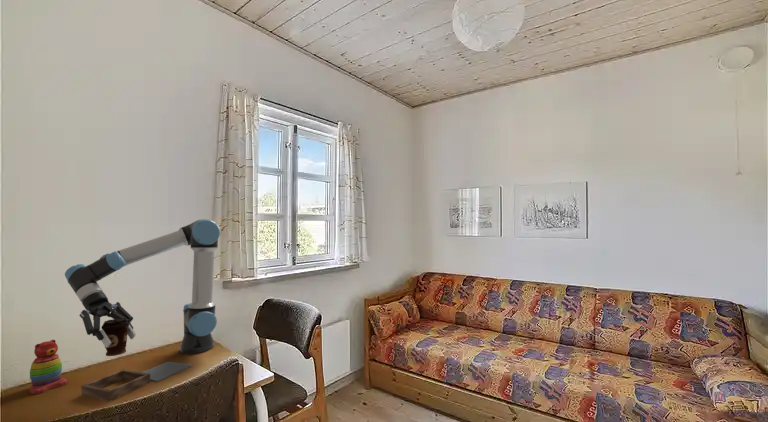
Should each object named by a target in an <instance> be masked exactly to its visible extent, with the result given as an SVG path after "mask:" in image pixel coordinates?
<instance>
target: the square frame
mask: <svg viewBox="0 0 768 422" xmlns="http://www.w3.org/2000/svg"><path fill="white" fill-rule="evenodd" d="M142 372H143V371H142ZM142 372H140V371H135V370H129V369H122V370H121V369H120V370H119V371H116V372H114V373H111V374H109V375H106V376H103V377H101V378H98V379H96V380H93V381H91V382H88V383H86V384H84V385H81V386H80V387H81V388H80V389H81V391H80V392H81V393H80V394H81V396H82V397H85V398H91V399H95V400H100V401H104V402H105V401H106V402H111V400H112V401H115V400H117V399H118V398H120V397H119V396H121V397H122V395H123V396H125V395H127V394H129V393H131V392H133V391H136V390H137V389H139V388H140V389H141V388H142V387H144V386H146V384H147V385H148V384H150V383H151V381H150V374H148V373H142ZM120 381H127V382H126V383H123V384H120V385H119V386H116V387H113V388H112V389H110V388H109V389H108V388H106V387H108V386H110V385H114V384H115V383H117V382H120ZM117 397H118V398H117Z"/></svg>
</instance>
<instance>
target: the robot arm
mask: <svg viewBox="0 0 768 422" xmlns="http://www.w3.org/2000/svg"><path fill="white" fill-rule="evenodd" d="M220 235H221V228H220V226H219V224H217V223H216V222H215V221H214V220H212V219H208V218H206V219H205V218H204V219H203V218H202V219H198V220H196V221H193V222H192V223H190V224H187V225H184V226H182V227H179V229H178V230H176V231H173V232H171V233H168V234H164V235H162V236H161V235H160V236H159V237H155V238H152V239H149V240H147V241H143V242H140V243H137V244H135V245H134V244H133V245H132V246H128V247H126V248H125V247H124V248H122V249H120V250H117V251H115V250H114V251H113V252H111V253H105V254H104V255H102V256H101V257H100V258H99V259H97V260H95V261H94V262H91V263H90V264H88V265H85V264H82V263H79V264H75V265H72V266H70V267H69V268H67V269H66V271H65V272H64V277H65V279H66V281H67V283H68V284H69V286H70V287H71V289H72V290H73V292H74V293H75V295H76V296H77V298H78V300H79V301H80V302H81V305H83V307H84V308H85V309H82V310H81V311H80V313H79V317H80V318H81V319H82V323H83V325H84V328H85V331H86V335H87V336H90V335H92V336H93V337H96V338H97V340H98V341H100V342H102V344H103V345H104V348H105V347H106V348H107V347H109V345H110V344H111V341H110V339H109V338H108V336H107V335H106V333H105V332H104V330H103V329H102V328H101V318H102V317H108V318H112V319H120V318H126V319H127V321H128V322H129V326H128V329H127V333H128V335H127V337H129V339H130V340H134V338H135V337H136V335H137V334H136V332H135V331H134V326H133V325H132V321H133V320H134V317H133V316H132V315H131V314H130V313H129V312H128V311H127V310H126V309H125V308H124V307H122V305H121V303H120V302H119V301H117V302H116V303H111V302H109V299H108V297H107V295H106V293H105V292H104V291H103V289H102V287H100V284H99V283H98V282H99V281H101V280H103V279H104V278H106V277H108V276H110V275H111V274H113V273H115V272H117V271H119V270H121V269H122V268H123V267H126V266H128V265H131V264H132V265H133V264H134V263H137V262H141V261H142V260H145V259H146V260H147V259H148V258H151V257H155V256H156V255H157V256H158V255H161V254H162V253H165V252H168V251H170V250H171V251H172V250H173V249H177V248H180V247H182V246H186V247H187V246H189V247H190V249H191V250H192V251H193V265H192V268H193V269H192V270H193V271H192V291H191V292H192V293H191V302H189V303H186V304H184V305H183V310H182V312H183V337H182V340H181V341H182V342H181V344H180V347H179V349H180V350H179V351H180V353H181V354H187V355H191V354H192V355H193V354H199V353H203V352H206V351H209V350H212V349H213V348H215V347H214V346H215V340H214V338H213V336H212V333H213V331H214V330H215V328H216V327H217V325H218V322H217V321H218V319H217V317H216V303H215V302H213V287H214V286H213V285H214V262H215V261H214V259H215V250H217V249H218V247H219V246H218V245H219V244H218V242H219V238H220ZM90 315H91V316H92V319H91V316H90ZM92 320H93V321H92ZM106 348H105V349H106Z"/></svg>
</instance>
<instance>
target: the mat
mask: <svg viewBox="0 0 768 422" xmlns="http://www.w3.org/2000/svg"><path fill="white" fill-rule="evenodd" d="M191 367H192V364H189V363H181V362H175V361H174V362H173V361H165V362H164V363H161V364H158V365H156V366H154V367H152V368H150V369H147V370H145V371H142V373H148V374H150V382H155V383H159V382H161V381H162V380H163V381H164V380H165V379H168V378H169V377H171V376H173V375H175V374H178V373H179V372H182V371H185V370H186V369H188V368H191Z"/></svg>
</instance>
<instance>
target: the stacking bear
mask: <svg viewBox="0 0 768 422" xmlns="http://www.w3.org/2000/svg"><path fill="white" fill-rule="evenodd" d="M33 350H34V352H33V353H34V355H35V357H36V358H34V360H33V361H32V362H31V364H30V365H31V366H30V370H29V379H30V381H31V384H32V385H31V386H30V387H29V393H30V394H31V395H39V394H42V393H44V392H47V391H48V390H52V389H54V388H60V387H63V386H65V385H67V384H68V382H69V381H68V380H67V379H66V378H64V377H61V374H62V371H63V370H62V369H63V364H62V363H63V362H62V361H61V357H60V356H59V354H58V350H59V346H58V343H56V340H55V339H51V340H48V341H43V342H41V343H36V344H35V345H34V349H33Z"/></svg>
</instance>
